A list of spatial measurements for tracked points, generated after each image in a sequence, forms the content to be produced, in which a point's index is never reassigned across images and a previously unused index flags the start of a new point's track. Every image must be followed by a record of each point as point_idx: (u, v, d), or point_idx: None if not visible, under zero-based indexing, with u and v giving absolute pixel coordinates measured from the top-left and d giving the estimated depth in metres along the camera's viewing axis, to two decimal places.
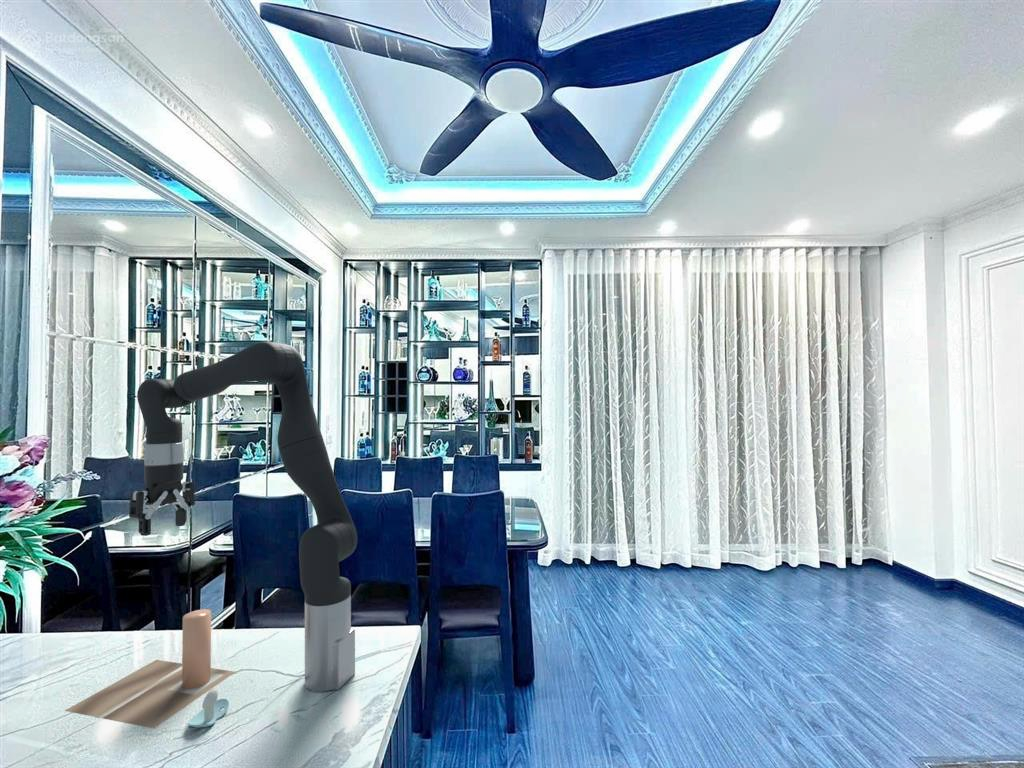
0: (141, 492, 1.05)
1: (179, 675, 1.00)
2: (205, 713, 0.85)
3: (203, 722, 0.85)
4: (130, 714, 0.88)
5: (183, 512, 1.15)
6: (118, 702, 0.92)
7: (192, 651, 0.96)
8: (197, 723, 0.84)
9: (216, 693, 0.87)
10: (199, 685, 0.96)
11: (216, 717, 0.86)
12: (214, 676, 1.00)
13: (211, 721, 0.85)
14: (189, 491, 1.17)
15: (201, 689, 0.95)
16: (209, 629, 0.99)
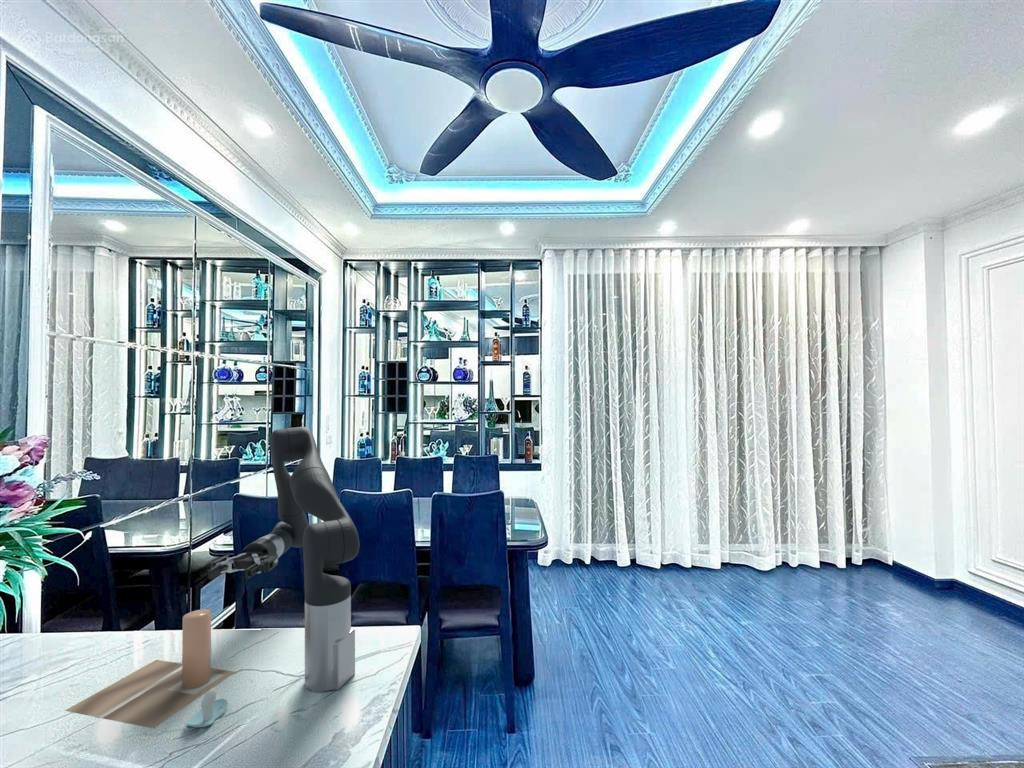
0: None
1: (179, 675, 1.00)
2: (204, 713, 0.85)
3: (202, 722, 0.85)
4: (130, 714, 0.88)
5: (253, 564, 1.13)
6: (118, 702, 0.92)
7: (192, 651, 0.96)
8: (196, 723, 0.84)
9: (215, 693, 0.87)
10: (199, 685, 0.96)
11: (215, 717, 0.86)
12: (214, 676, 1.00)
13: (210, 721, 0.85)
14: None
15: (201, 689, 0.95)
16: (209, 629, 0.99)
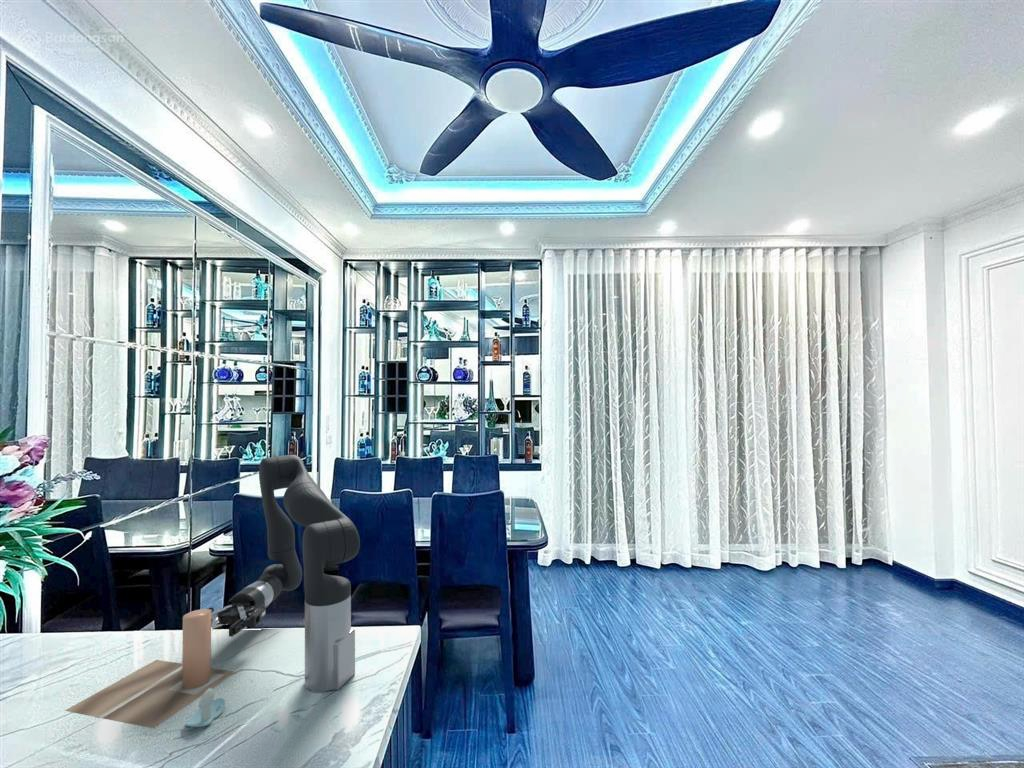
0: (211, 607, 1.13)
1: (179, 675, 1.00)
2: (202, 713, 0.85)
3: (200, 722, 0.85)
4: (130, 714, 0.88)
5: (238, 620, 1.06)
6: (118, 702, 0.92)
7: (192, 650, 0.96)
8: (194, 723, 0.85)
9: (213, 693, 0.87)
10: (199, 685, 0.96)
11: (213, 717, 0.87)
12: (214, 676, 1.00)
13: (208, 721, 0.85)
14: None
15: (201, 689, 0.95)
16: (209, 629, 0.99)
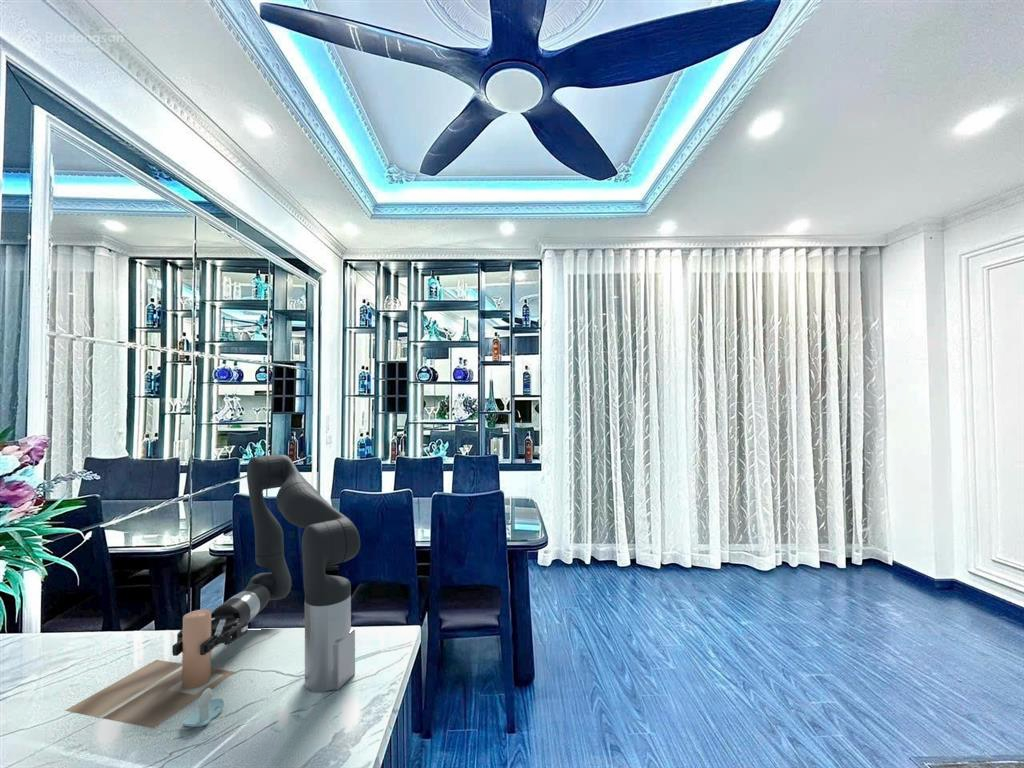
0: None
1: (179, 675, 1.00)
2: (200, 713, 0.85)
3: (198, 722, 0.85)
4: (130, 714, 0.88)
5: (211, 637, 0.99)
6: (118, 702, 0.92)
7: (192, 650, 0.96)
8: (192, 723, 0.85)
9: (211, 693, 0.87)
10: (199, 685, 0.96)
11: (211, 717, 0.87)
12: (214, 676, 1.00)
13: (206, 721, 0.85)
14: None
15: (201, 689, 0.95)
16: (209, 629, 0.99)
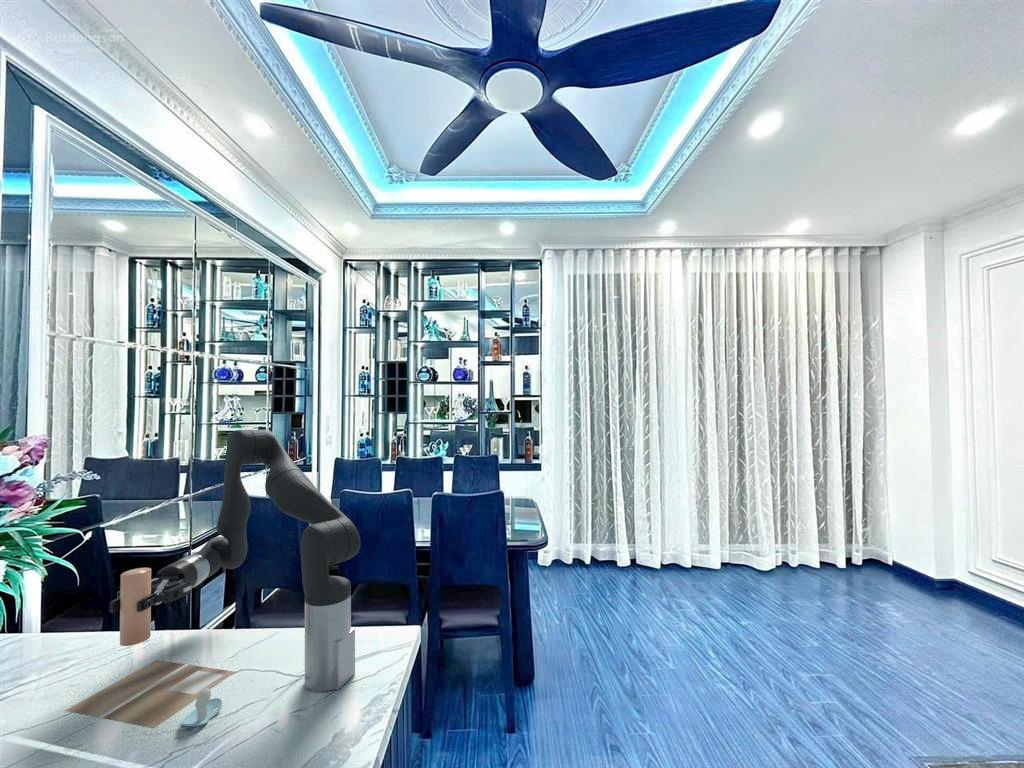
0: None
1: (179, 675, 1.00)
2: (198, 712, 0.85)
3: (196, 721, 0.85)
4: (130, 714, 0.88)
5: (150, 595, 0.98)
6: (118, 702, 0.92)
7: (129, 607, 0.95)
8: (190, 722, 0.85)
9: (209, 692, 0.87)
10: (136, 642, 0.96)
11: (209, 716, 0.87)
12: (214, 676, 1.00)
13: (204, 720, 0.85)
14: None
15: (201, 689, 0.95)
16: (148, 587, 0.98)
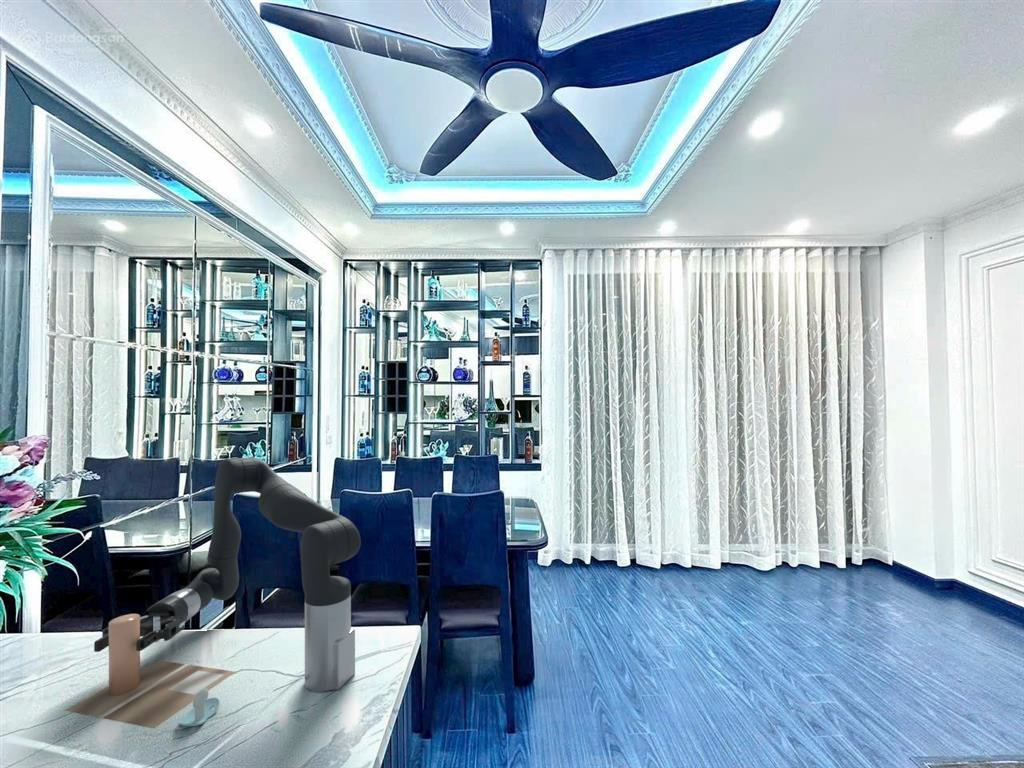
0: None
1: (179, 675, 1.00)
2: (195, 712, 0.85)
3: (193, 721, 0.85)
4: (130, 714, 0.88)
5: (150, 632, 0.98)
6: (118, 702, 0.92)
7: (118, 656, 0.94)
8: (187, 722, 0.85)
9: (206, 692, 0.87)
10: (126, 691, 0.95)
11: (207, 716, 0.87)
12: (214, 676, 1.00)
13: (201, 720, 0.86)
14: None
15: None
16: (137, 634, 0.97)
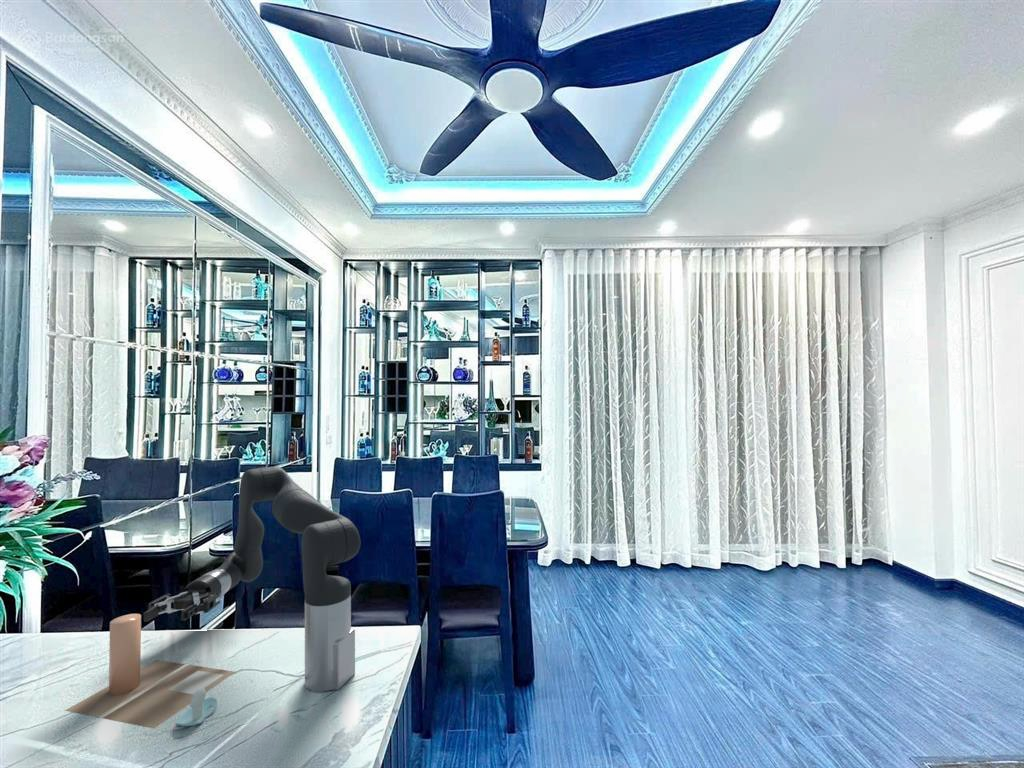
0: None
1: (179, 675, 1.00)
2: (193, 712, 0.86)
3: (191, 721, 0.85)
4: (130, 714, 0.88)
5: (191, 605, 1.11)
6: (118, 702, 0.92)
7: (119, 656, 0.94)
8: (185, 722, 0.85)
9: (204, 692, 0.87)
10: (126, 691, 0.95)
11: (204, 716, 0.87)
12: (214, 676, 1.00)
13: (199, 720, 0.86)
14: None
15: None
16: (138, 634, 0.97)
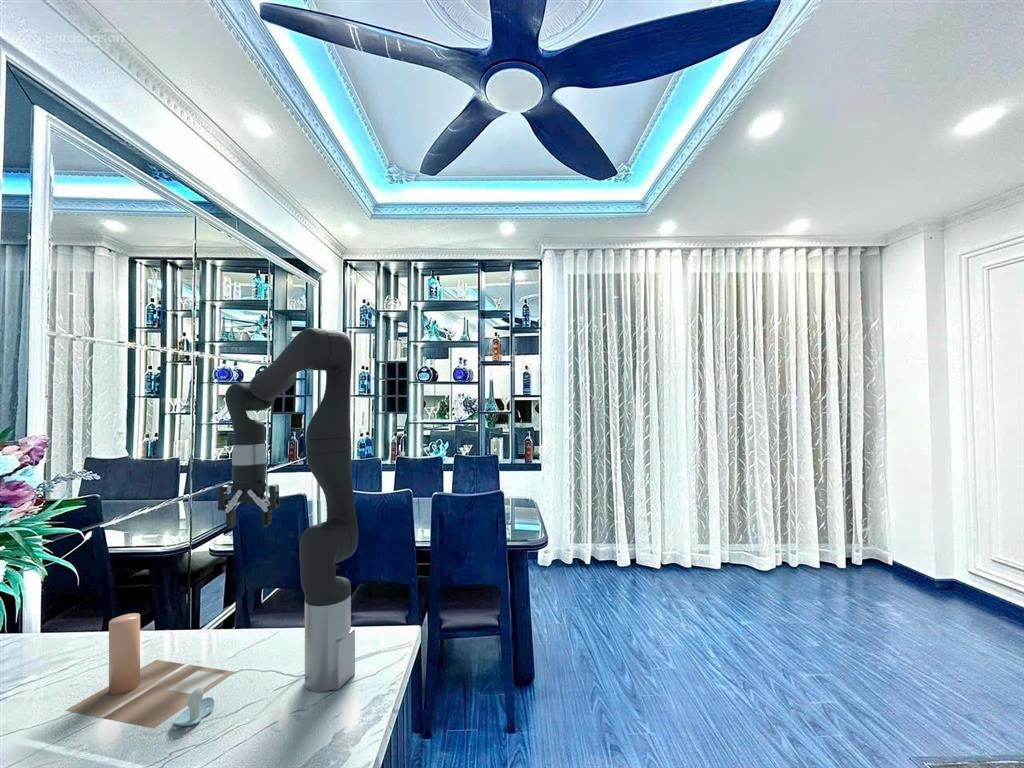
0: (221, 487, 1.16)
1: (179, 675, 1.00)
2: (190, 712, 0.86)
3: (188, 721, 0.86)
4: (130, 714, 0.88)
5: (263, 514, 1.16)
6: (118, 702, 0.92)
7: (118, 655, 0.94)
8: (182, 722, 0.85)
9: (201, 692, 0.87)
10: (125, 691, 0.95)
11: (201, 715, 0.87)
12: (214, 676, 1.00)
13: (196, 720, 0.86)
14: None
15: None
16: (137, 633, 0.97)
